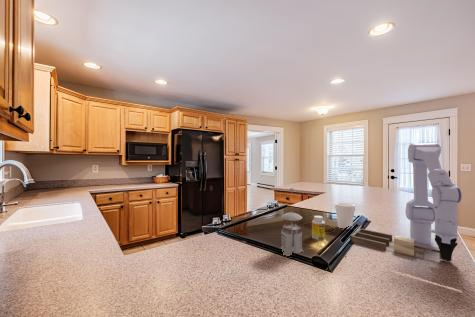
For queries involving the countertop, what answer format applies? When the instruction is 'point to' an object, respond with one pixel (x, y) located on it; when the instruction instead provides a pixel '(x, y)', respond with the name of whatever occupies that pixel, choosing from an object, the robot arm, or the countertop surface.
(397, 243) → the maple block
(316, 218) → the supplement bottle
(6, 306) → the countertop surface
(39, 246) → the countertop surface
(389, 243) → the lane shelf
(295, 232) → the french press
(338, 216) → the foam cup
